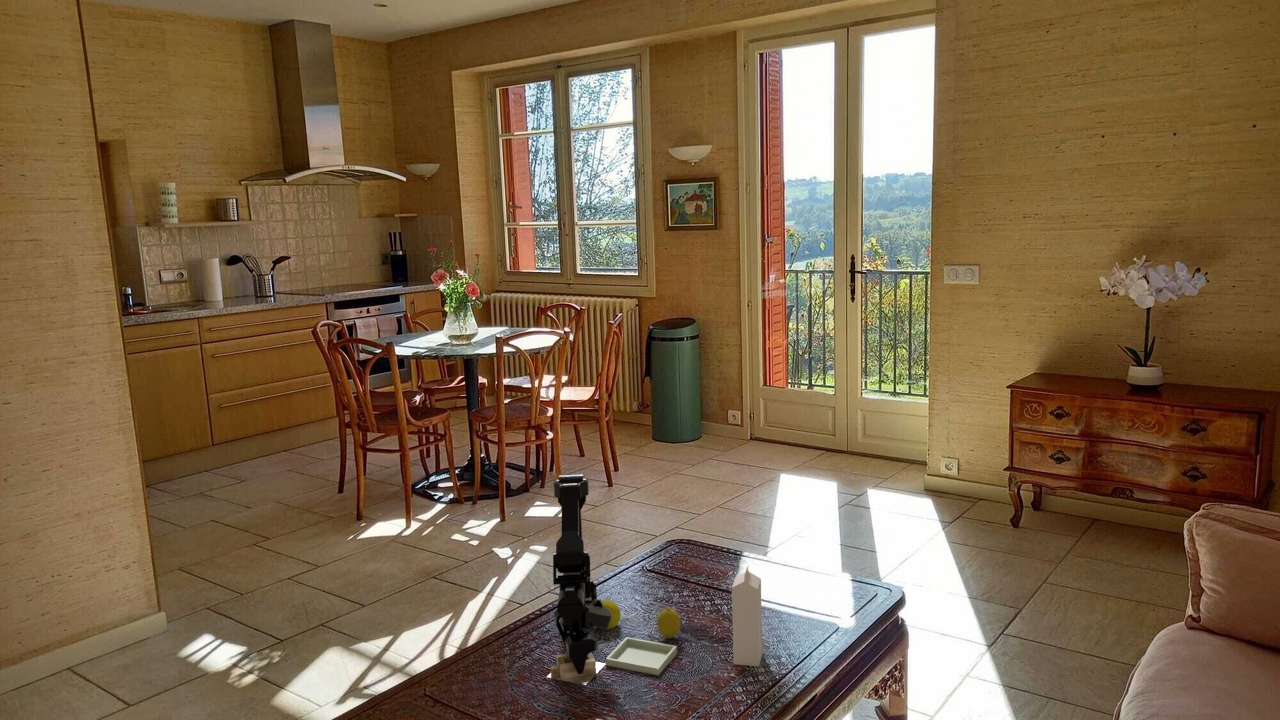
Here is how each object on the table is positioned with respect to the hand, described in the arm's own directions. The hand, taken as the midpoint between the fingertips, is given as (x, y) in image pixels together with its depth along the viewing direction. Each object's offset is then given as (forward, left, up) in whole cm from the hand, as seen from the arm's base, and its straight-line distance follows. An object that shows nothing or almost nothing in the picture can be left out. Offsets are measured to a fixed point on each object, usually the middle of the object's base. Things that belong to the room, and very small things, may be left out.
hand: (576, 663), depth 208 cm
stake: (0, 0, -2) cm, 2 cm away
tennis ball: (-3, +22, -2) cm, 22 cm away
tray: (+12, +10, -2) cm, 16 cm away
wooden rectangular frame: (0, 0, -2) cm, 2 cm away
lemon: (+14, +22, -2) cm, 26 cm away
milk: (+35, +19, -2) cm, 40 cm away
